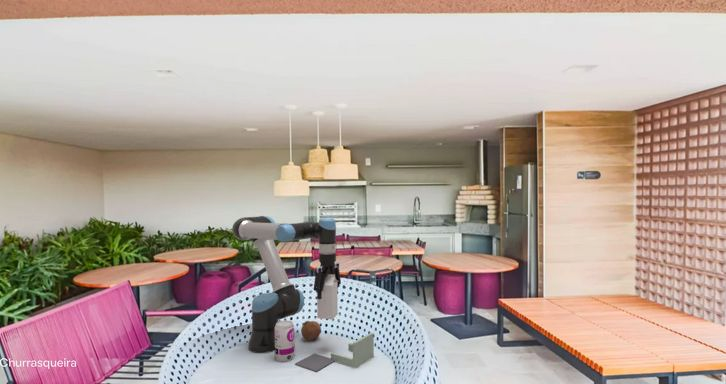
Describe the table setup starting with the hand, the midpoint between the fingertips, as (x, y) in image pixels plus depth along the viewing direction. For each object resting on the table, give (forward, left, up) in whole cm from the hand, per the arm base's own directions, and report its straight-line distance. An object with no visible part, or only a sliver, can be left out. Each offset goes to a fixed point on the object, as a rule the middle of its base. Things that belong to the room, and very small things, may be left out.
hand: (327, 303), depth 170 cm
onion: (-16, +6, -21) cm, 27 cm away
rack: (+13, 0, -21) cm, 25 cm away
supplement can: (-11, -16, -21) cm, 29 cm away
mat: (+3, -12, -21) cm, 25 cm away
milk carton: (0, 0, -6) cm, 6 cm away
